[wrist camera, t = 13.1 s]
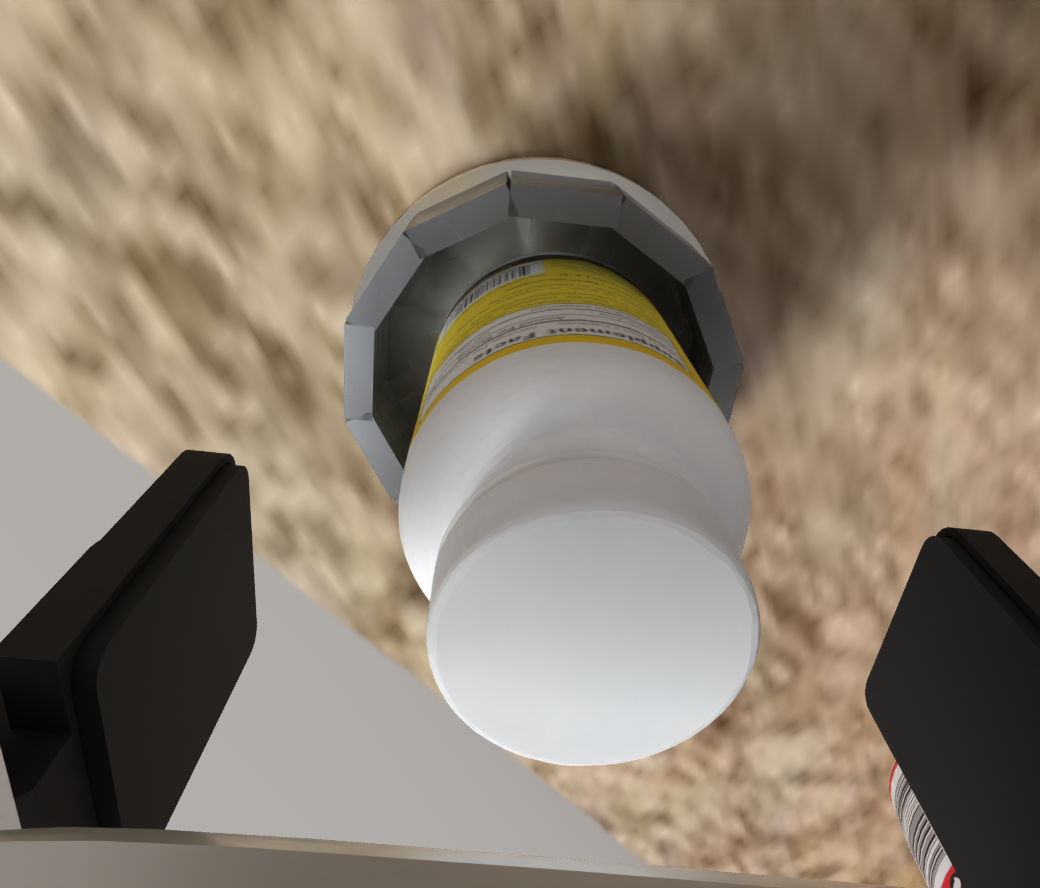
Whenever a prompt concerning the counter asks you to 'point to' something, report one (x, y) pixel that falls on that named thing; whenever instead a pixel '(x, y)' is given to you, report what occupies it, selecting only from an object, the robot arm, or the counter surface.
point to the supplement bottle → (576, 520)
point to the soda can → (921, 835)
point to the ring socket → (497, 239)
